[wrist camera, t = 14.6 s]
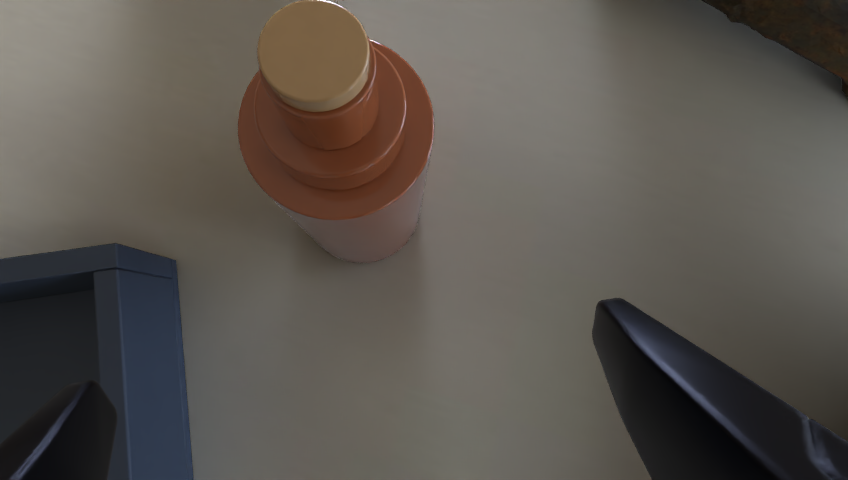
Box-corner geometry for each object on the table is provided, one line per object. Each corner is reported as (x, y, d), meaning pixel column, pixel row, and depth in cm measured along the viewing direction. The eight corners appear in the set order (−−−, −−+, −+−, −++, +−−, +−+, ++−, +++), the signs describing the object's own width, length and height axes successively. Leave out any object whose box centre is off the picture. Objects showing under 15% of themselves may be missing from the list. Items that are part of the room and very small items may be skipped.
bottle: (393, 281, 21) (383, 222, 9) (284, 236, 21) (125, 115, 9) (437, 176, 22) (486, -13, 10) (333, 133, 22) (248, -109, 10)
